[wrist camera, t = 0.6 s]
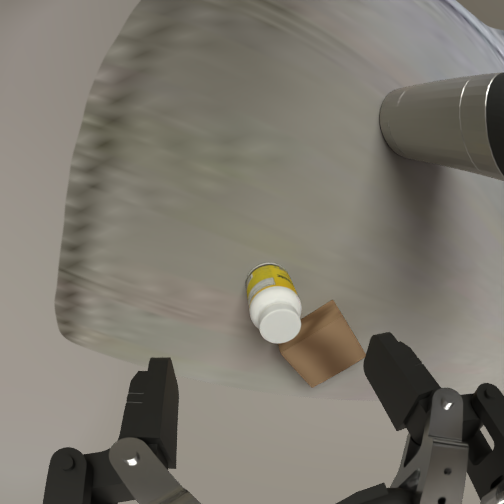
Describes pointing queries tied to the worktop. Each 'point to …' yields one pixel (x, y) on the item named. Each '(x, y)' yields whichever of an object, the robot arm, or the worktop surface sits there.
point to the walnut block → (322, 345)
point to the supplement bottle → (273, 303)
